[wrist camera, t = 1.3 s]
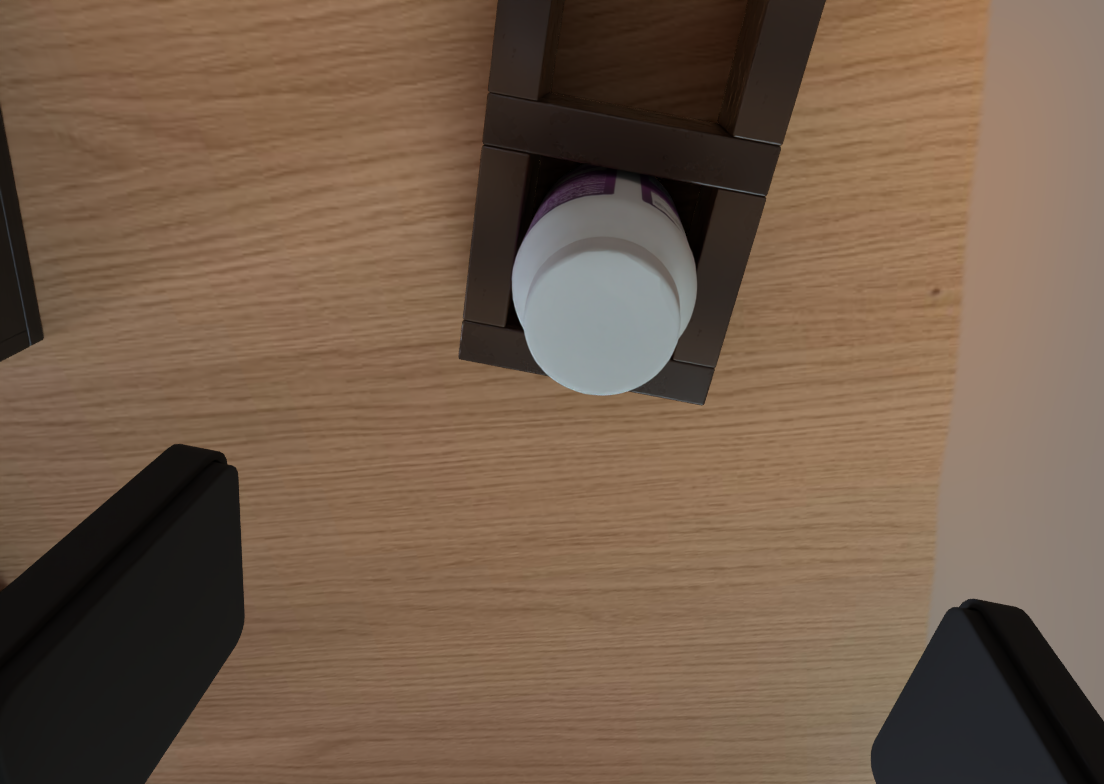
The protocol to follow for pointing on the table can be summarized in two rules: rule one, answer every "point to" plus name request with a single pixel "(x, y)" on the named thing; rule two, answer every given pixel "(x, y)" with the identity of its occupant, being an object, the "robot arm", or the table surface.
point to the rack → (635, 146)
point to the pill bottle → (604, 280)
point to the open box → (14, 269)
